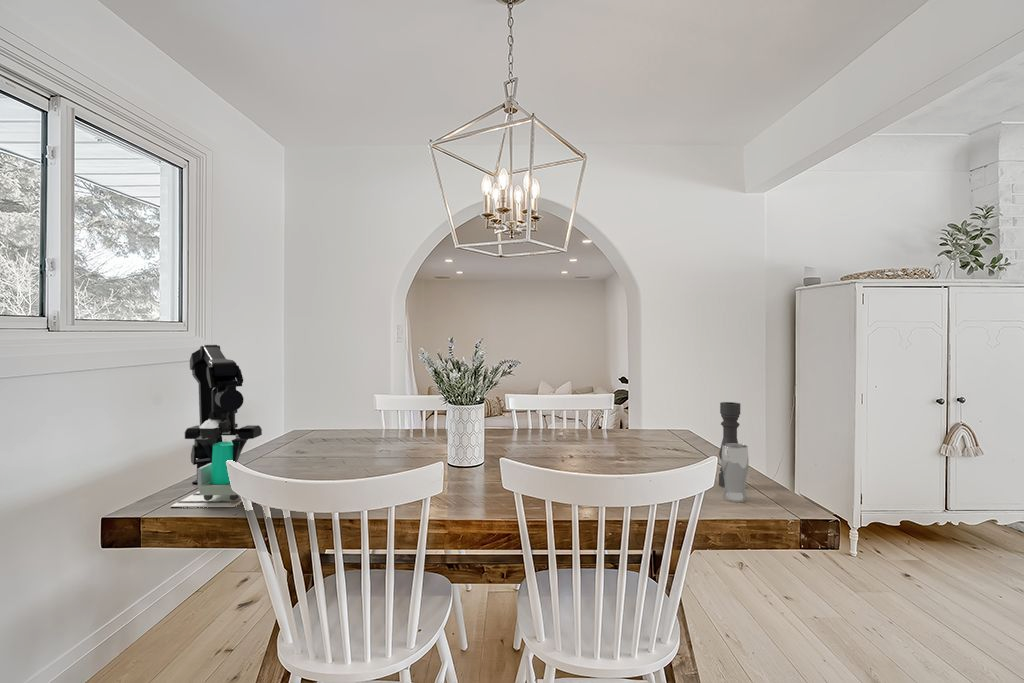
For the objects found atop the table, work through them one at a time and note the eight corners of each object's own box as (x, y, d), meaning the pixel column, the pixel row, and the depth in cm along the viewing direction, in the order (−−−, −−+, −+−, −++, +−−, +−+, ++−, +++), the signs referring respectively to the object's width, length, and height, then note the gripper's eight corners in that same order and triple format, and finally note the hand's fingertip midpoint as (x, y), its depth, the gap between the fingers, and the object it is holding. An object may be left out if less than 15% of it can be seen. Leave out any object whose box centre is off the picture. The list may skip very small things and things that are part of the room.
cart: (215, 490, 156) (215, 460, 156) (254, 490, 156) (254, 460, 156) (195, 501, 146) (195, 469, 146) (237, 501, 146) (236, 469, 146)
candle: (224, 485, 148) (226, 441, 148) (205, 482, 149) (207, 439, 149) (239, 479, 154) (241, 437, 153) (221, 477, 155) (223, 435, 155)
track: (198, 493, 158) (198, 490, 158) (257, 493, 158) (256, 490, 158) (170, 507, 145) (170, 505, 145) (234, 507, 145) (234, 504, 145)
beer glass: (748, 497, 153) (748, 444, 153) (747, 504, 147) (748, 449, 147) (722, 494, 156) (722, 442, 156) (720, 500, 150) (720, 446, 150)
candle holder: (743, 485, 165) (744, 403, 165) (736, 489, 160) (737, 405, 160) (723, 481, 169) (723, 401, 169) (715, 485, 165) (716, 403, 164)
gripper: (171, 411, 143) (172, 470, 143) (243, 411, 143) (243, 470, 143) (196, 405, 154) (196, 460, 154) (262, 405, 154) (262, 460, 154)
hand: (224, 463), depth 151 cm, fingers open, 6 cm apart
